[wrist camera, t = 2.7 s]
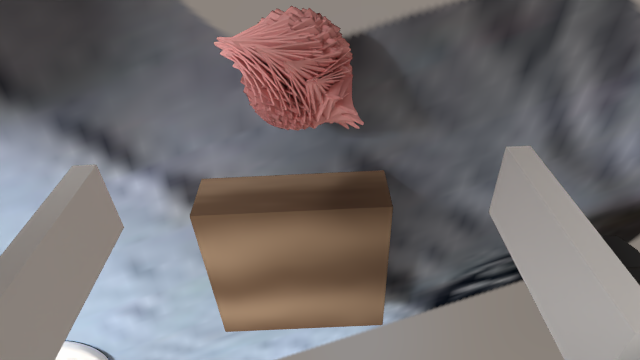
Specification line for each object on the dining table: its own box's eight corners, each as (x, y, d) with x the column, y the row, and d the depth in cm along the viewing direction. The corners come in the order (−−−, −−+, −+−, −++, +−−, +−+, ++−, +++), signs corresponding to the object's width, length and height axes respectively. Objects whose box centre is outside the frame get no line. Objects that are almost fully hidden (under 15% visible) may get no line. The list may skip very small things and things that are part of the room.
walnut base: (203, 175, 28) (189, 216, 25) (383, 166, 28) (392, 206, 25) (233, 289, 35) (225, 331, 32) (375, 282, 35) (382, 324, 32)
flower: (343, -35, 15) (267, 103, 14) (422, 81, 21) (370, 179, 21) (220, -39, 20) (162, 64, 19) (313, 56, 26) (270, 135, 26)
